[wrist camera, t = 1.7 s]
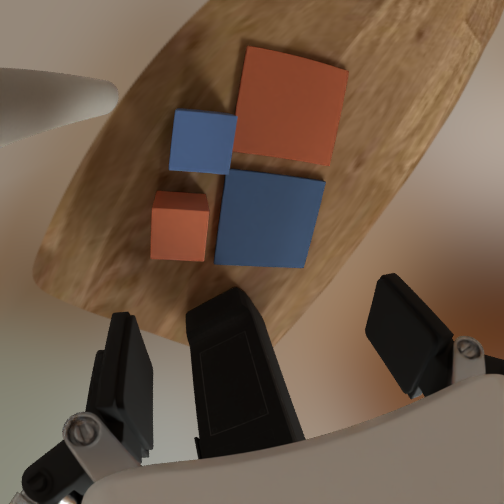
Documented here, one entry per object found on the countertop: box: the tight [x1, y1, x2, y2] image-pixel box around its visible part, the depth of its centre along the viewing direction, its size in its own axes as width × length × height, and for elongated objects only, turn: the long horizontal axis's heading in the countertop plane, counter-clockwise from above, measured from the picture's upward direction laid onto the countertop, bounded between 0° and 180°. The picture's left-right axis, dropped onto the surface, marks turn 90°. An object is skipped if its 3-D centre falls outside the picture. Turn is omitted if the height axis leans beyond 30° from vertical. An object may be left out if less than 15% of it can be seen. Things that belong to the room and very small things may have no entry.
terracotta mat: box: [232, 46, 349, 166], centre depth 23 cm, size 9×9×1 cm
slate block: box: [169, 108, 238, 175], centre depth 21 cm, size 4×4×4 cm
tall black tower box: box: [186, 287, 306, 459], centre depth 22 cm, size 8×6×25 cm
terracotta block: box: [151, 191, 210, 261], centre depth 24 cm, size 4×4×4 cm
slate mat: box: [214, 169, 326, 268], centre depth 28 cm, size 9×9×1 cm
